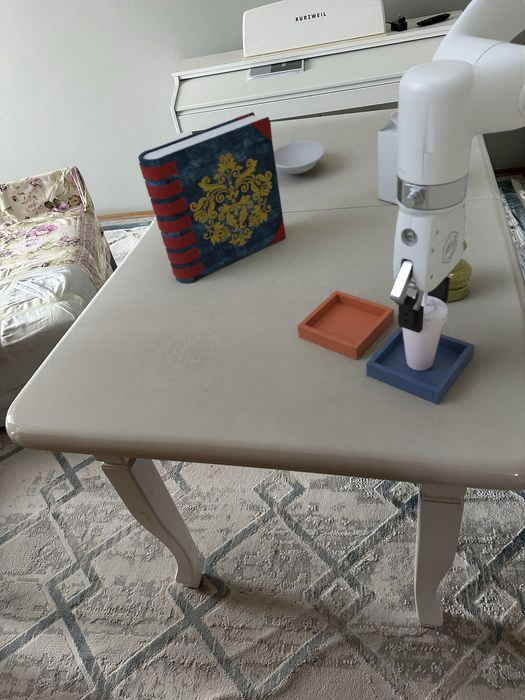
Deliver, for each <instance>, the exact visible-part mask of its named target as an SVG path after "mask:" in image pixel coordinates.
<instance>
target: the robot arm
mask: <svg viewBox="0 0 525 700" xmlns="http://www.w3.org/2000/svg"><path fill="white" fill-rule="evenodd" d="M523 31H525V0H471V1H470V2H469V4H468V5H467V6H466V8H465V9H464V10H463V11H462V12H461V14H460V15H459V17H458V18H457V19H456V20H455V22H454V23H453V25H452V26H451V28H450V29H449V30H448V32H447V33H446V34H445V36H444V37H443V39H442V41H440V43H439V45H438V47H437V49H436V50H435V53H434V54H433V56H432V59H431V60H430V61H425V62H422V63H421V62H420V63H418V64H416V65H413V66H412V67H410V68H409V69H407V70H406V71H405V72H404V73H403V75H402V76H401V78H400V81H399V85H398V95H397V96H398V97H397V111H398V152H397V204H396V205H397V206H398V207H399V208H398V211H397V218H396V224H395V225H396V226H395V232H394V233H395V234H394V245H393V261H392V263H393V264H392V267H393V268H392V270H393V271H392V272H393V281H394V284H393V287H392V290H391V292H390V295H389V298H390V300H391V301H393V302H394V303H395V304H396V305H398V310H397V325H398V326H399V327H403V328H406V329H408V330H411V331H414V332H417V333H420V332H421V331H422V329H423V314H424V307H423V306H421V303H422V299H423V295H424V292H426V293H428V295H427V296H432V297H435V298H438V299H440V300H441V301H443V302H444V303H445V304H446V303H448V302H447V301H448V294H449V284H450V277H447V276H450V274H451V272H452V269H453V268H454V267H455V266H456V265H457V264H458V262H459V261H460V259H461V258H462V259H463V255H464V251H463V248H464V240H465V234H466V233H465V232H466V211H467V210H466V209H467V206H466V205H467V204H466V199H467V190H468V180H469V173H470V162H471V153H472V144H473V139H474V138H475V137H476V136H479V135H484V134H485V135H487V134H492V133H493V134H494V133H501V132H510V131H514V130H519V129H521V128H524V127H525V45H524V44H518V43H513V42H511V41H512V40H513V39H514V38H516V37H517V36H518V35H520V33H522V32H523ZM412 278H413V280H412ZM408 288H409V289H412V290H415V291H416V293H415V299H414V298H412V297H413V296H410V295H408V294H407V292H408Z"/></svg>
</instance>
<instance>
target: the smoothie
mask: <svg viewBox="0 0 525 700" xmlns="http://www.w3.org/2000/svg"><path fill="white" fill-rule="evenodd" d="M427 295H428V293H426V292H424V295H423V299H422V303H421V306H423V307H424V314H423V329H422V331H421V332H420V333H417V332H414V331H411V330H408V329H406V328H403V327H402V330H403V338H404V346H405V353H406V361H407V365H408V366H409V367H410V368H412V369H414V370H419V371H422V370H427V369H429V368H430V367H431V366H432V365H433V361H434V358H435V354H436V350H437V346H438V342H439V338H440V335H441V334H442V331H443V327H444V323H446V321H447V320H448V317H449V315H448V312H449V308H448V306H447V304H446V303H444V302H443V301H441V300H440V299H438V298H435V297H432V296H427ZM415 296H416V295H415ZM415 296H414V295H413V296H411V297H412V298H414V299H415Z"/></svg>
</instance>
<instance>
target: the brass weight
mask: <svg viewBox="0 0 525 700" xmlns="http://www.w3.org/2000/svg"><path fill="white" fill-rule="evenodd" d="M467 247H468V243H467V241H466V240H465V239H464V248H463V252H465V251H466V250H467ZM472 273H473V269H472V266H471V264H470V263H469V262H468V261H467V260H465V259H463V257H462V258H461V259H460V261H459V262H458V264H457V265H456V266H455V267H454V268H453V269H452V272H451V274H450V276H447V277H450V284H449V294H448V301H447V302H446V303H448V302H456V301H459V300H462V299H463V298H465V297H466V296H467V295H468V293H469V292H470V285H471V281H472V280H471V276H472Z"/></svg>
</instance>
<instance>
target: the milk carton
mask: <svg viewBox="0 0 525 700" xmlns="http://www.w3.org/2000/svg"><path fill="white" fill-rule="evenodd" d="M397 152H398V110H396V111H394V112H391V114H390V120H389V121H388V122H386V124H384V125H383V127H381V128H380V129H379V130H378V131H377V200H381V201H384V202H388V203H391V204H395V205H398V204H397Z"/></svg>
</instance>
